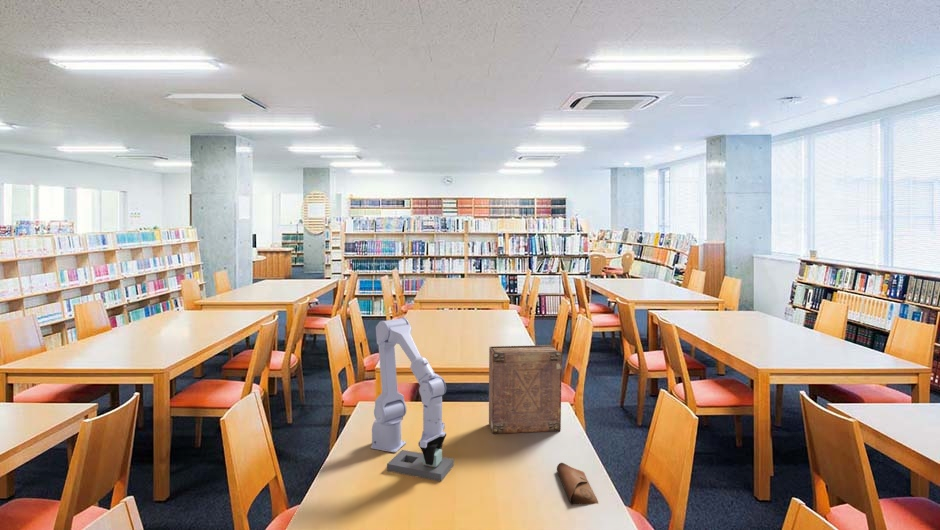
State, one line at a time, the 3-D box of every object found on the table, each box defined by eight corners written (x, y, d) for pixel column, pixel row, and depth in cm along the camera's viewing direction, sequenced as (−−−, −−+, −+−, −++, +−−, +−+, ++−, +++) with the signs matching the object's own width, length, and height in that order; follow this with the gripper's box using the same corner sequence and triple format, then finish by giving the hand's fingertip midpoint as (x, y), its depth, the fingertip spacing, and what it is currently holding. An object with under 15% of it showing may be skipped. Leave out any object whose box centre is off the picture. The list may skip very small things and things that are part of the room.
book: (553, 421, 188) (555, 344, 186) (560, 431, 179) (562, 351, 177) (488, 424, 185) (489, 346, 183) (492, 434, 176) (493, 352, 174)
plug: (423, 472, 149) (423, 453, 148) (428, 465, 153) (429, 447, 152) (436, 474, 147) (436, 455, 147) (441, 468, 151) (442, 449, 151)
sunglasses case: (601, 504, 133) (589, 484, 132) (578, 517, 133) (567, 497, 132) (583, 471, 150) (572, 453, 150) (563, 482, 151) (553, 464, 150)
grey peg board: (387, 470, 150) (387, 463, 150) (402, 456, 159) (402, 449, 159) (441, 481, 144) (441, 474, 144) (453, 465, 153) (453, 459, 153)
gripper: (435, 428, 141) (435, 474, 142) (453, 410, 154) (453, 452, 155) (413, 425, 143) (413, 469, 144) (433, 407, 157) (433, 448, 158)
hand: (432, 460), depth 150 cm, fingers closed on plug, 4 cm apart
